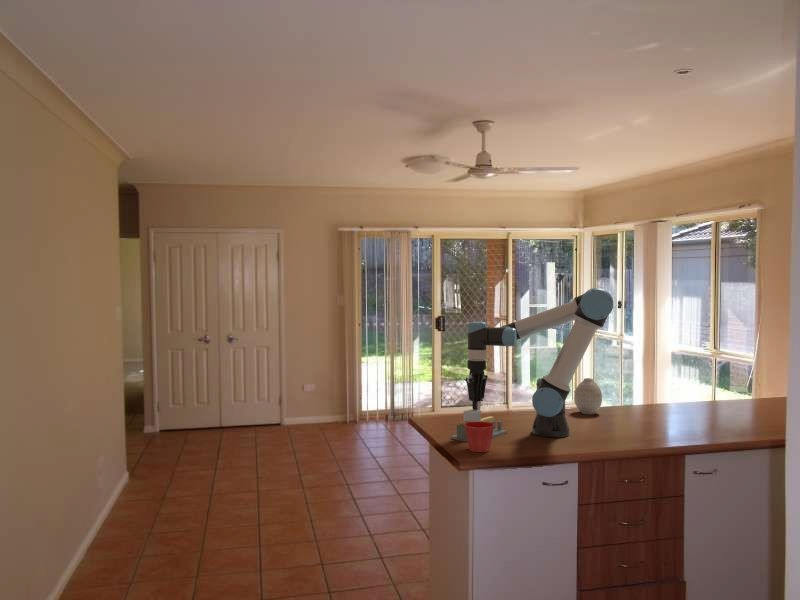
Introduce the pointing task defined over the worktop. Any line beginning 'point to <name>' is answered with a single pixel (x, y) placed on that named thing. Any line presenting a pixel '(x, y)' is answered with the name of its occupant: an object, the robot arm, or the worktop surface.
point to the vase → (588, 397)
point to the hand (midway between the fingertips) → (476, 416)
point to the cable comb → (496, 432)
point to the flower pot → (479, 435)
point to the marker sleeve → (472, 415)
